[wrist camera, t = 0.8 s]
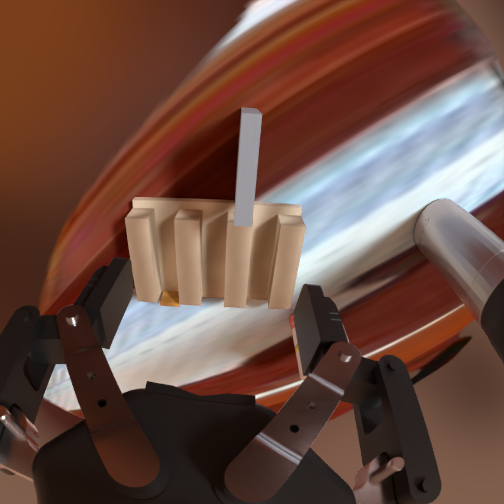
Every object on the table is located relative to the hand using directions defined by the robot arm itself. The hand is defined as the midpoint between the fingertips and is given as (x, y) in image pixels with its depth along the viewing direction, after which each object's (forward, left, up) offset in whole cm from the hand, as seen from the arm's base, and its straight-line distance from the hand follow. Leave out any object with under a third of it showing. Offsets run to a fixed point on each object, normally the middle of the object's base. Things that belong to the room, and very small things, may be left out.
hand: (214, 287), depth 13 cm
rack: (+1, +11, -22) cm, 25 cm away
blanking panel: (-2, -2, -22) cm, 22 cm away
